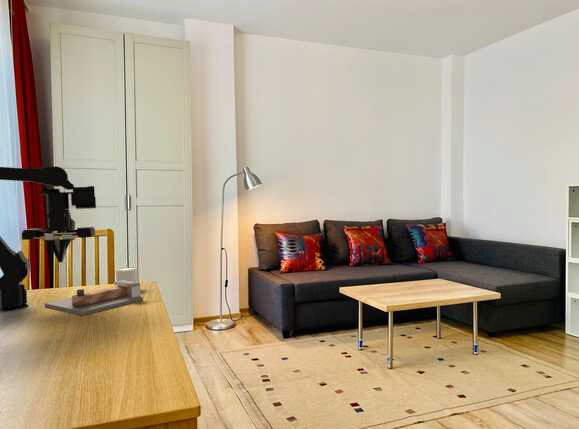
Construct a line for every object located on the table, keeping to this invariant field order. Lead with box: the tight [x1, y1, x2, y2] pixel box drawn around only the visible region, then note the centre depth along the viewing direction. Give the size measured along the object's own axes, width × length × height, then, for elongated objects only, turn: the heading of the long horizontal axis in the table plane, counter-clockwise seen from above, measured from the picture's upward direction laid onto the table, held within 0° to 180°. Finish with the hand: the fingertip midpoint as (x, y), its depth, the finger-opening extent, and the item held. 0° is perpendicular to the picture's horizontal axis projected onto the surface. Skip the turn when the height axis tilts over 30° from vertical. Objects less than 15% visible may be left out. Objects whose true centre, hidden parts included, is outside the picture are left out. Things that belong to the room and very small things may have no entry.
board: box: [44, 295, 144, 316], centre depth 129 cm, size 19×19×1 cm
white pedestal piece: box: [115, 267, 138, 282], centre depth 147 cm, size 7×7×7 cm
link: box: [71, 285, 128, 307], centre depth 128 cm, size 18×4×4 cm, turn 148°
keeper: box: [113, 280, 141, 298], centre depth 133 cm, size 3×8×4 cm, turn 56°
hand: (60, 262), depth 131 cm, fingers closed
